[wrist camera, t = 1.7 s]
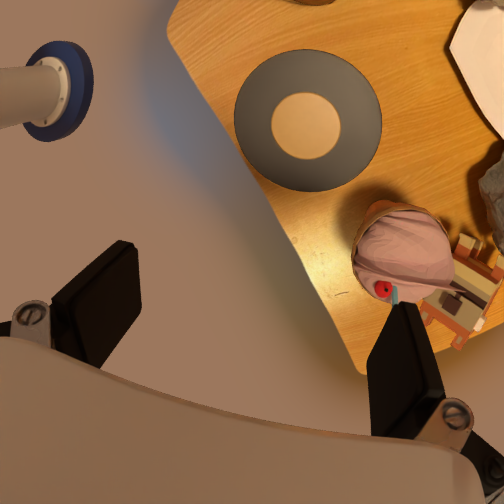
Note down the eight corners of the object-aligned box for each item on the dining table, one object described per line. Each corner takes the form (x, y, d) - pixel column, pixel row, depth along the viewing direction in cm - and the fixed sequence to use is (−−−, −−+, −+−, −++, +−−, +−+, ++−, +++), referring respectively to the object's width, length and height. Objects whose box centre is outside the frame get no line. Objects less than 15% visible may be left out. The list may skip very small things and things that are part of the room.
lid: (215, 147, 23) (183, 164, 17) (276, 29, 18) (262, 4, 12) (333, 211, 23) (338, 248, 18) (402, 100, 18) (433, 100, 13)
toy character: (512, 264, 23) (458, 362, 27) (516, 261, 34) (482, 329, 38) (446, 226, 29) (401, 321, 33) (473, 235, 41) (442, 301, 45)
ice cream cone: (413, 253, 41) (458, 349, 24) (341, 250, 44) (351, 351, 26) (422, 179, 36) (493, 244, 19) (344, 174, 39) (367, 239, 21)
